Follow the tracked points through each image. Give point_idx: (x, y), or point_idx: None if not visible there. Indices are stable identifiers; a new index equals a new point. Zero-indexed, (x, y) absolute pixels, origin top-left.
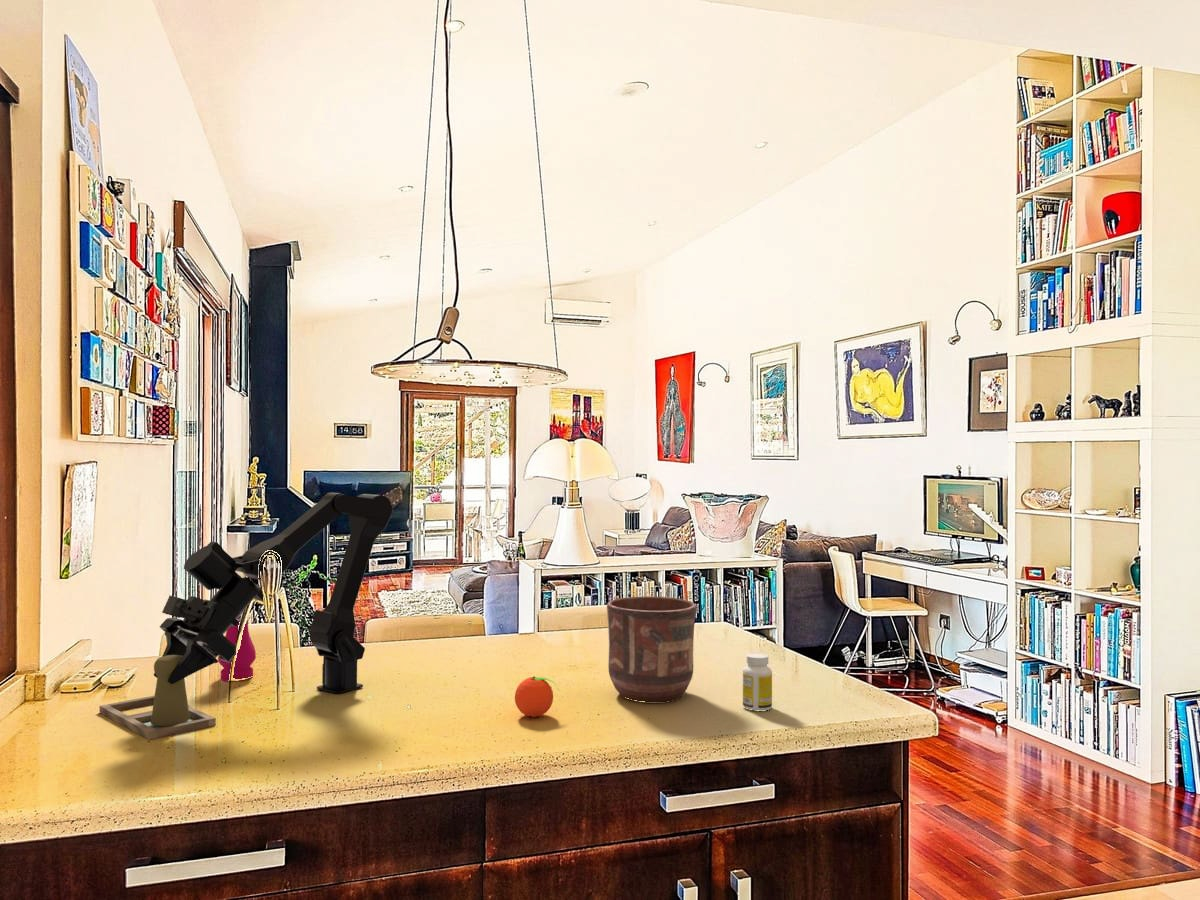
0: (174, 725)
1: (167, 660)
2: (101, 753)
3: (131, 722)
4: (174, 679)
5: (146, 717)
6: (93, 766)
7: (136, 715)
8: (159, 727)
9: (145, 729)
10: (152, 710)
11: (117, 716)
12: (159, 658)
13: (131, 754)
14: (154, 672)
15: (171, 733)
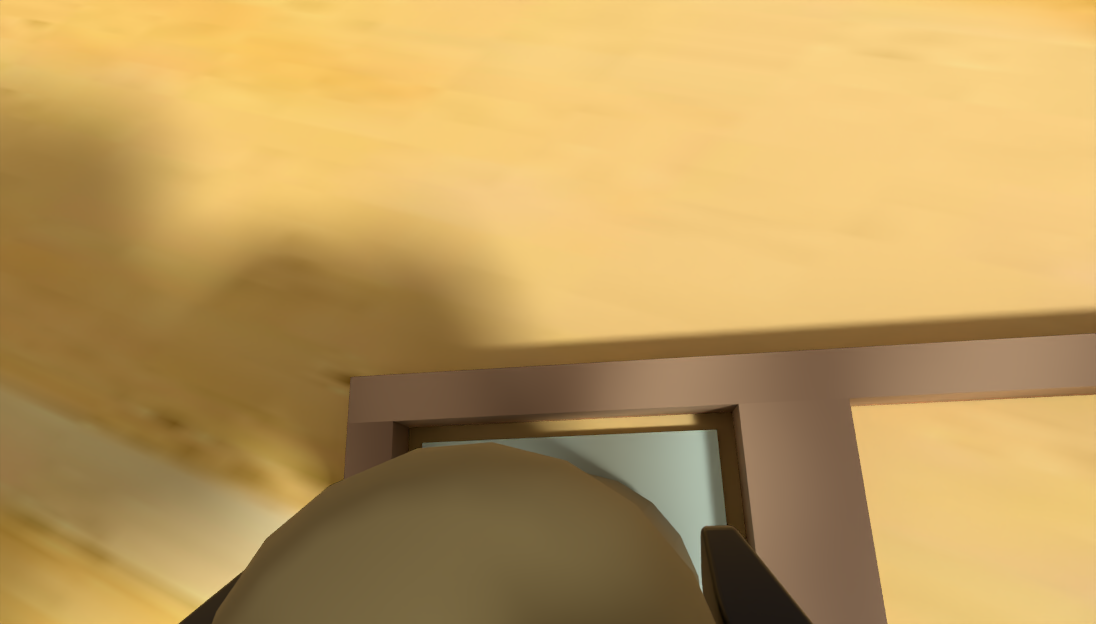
0: None
1: (248, 598)
2: (341, 151)
3: (646, 363)
4: None
5: (748, 497)
6: (199, 92)
7: (811, 445)
8: None
9: (424, 379)
10: (606, 485)
11: (896, 347)
12: (479, 531)
13: (218, 248)
14: (742, 540)
15: None
